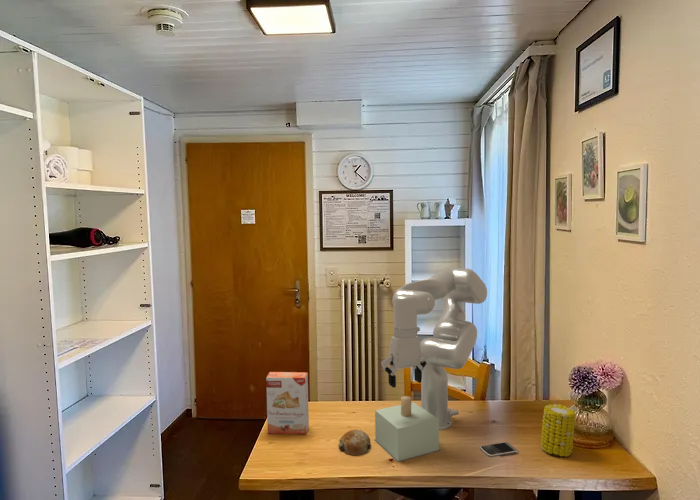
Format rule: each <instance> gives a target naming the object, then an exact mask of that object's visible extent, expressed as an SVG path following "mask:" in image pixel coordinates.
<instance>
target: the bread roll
mask: <svg viewBox="0 0 700 500" xmlns="http://www.w3.org/2000/svg"><path fill="white" fill-rule="evenodd" d="M370 448H371V439H370V435H368V433H366V432H365V431H363V430H362V429H351V430H349V431H347V432H345V433H344V434H343V435H342V437H340V438H339V443H338V449H340V450H341V452H343V453H345V454H347V455H350V456H351V455H352V456H358V455H365V454H366V453H368V452H370Z"/></svg>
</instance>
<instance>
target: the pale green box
mask: <svg viewBox="0 0 700 500" xmlns="http://www.w3.org/2000/svg"><path fill="white" fill-rule="evenodd" d="M374 416H375V417H374V424H375V425H374V427H375V429H374V431H375V432H374V433H375V437H374V438H375V439H374V441H375V440H376V441H377V442H378V443H379V444H380V445H381V446H383V447H384V448H385V449H386V450H387V451H388V452H389V453H390V454H391V455H392V456H393V457H394V458H395V459H396V460H397V461H400V460H404V459H408V458H411V459H413V458H412V457H415V456H419V455H423V454H426V455H428V454H427V453H430V452H434V451H437V452H439V451H438V450H440V430H439V419H438V418H436V417H435V416H433V415H432V414H430V413H429V412H427V411H426V410H425V409H423V408H422V407H421V405H418V403H415V402H414V401H413V402H412V397H411V396H408V395H404V396H401V397H400V404H398V405H394V406H389V407H384V408H380V409H375V410H374ZM376 441H375V442H376ZM377 442H376V443H377ZM378 443H377V444H378ZM379 444H378V445H379ZM380 445H379V446H380ZM381 446H380V447H381ZM434 453H435V452H434ZM430 454H431V453H430ZM391 455H390V456H391ZM392 456H391V457H392ZM423 456H424V455H423ZM393 457H392V458H393ZM419 457H420V456H419ZM394 458H393V459H394ZM415 458H416V457H415ZM395 459H394V460H395ZM396 460H395V461H396ZM408 460H409V459H408ZM397 461H396V462H397ZM404 461H405V460H404ZM400 462H401V461H400Z"/></svg>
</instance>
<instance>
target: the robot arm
mask: <svg viewBox="0 0 700 500" xmlns="http://www.w3.org/2000/svg"><path fill="white" fill-rule="evenodd" d="M487 296H488V289H487V286H486V284H485V283H484V281H483V280H482V279H481V277H480V276H479V275H478V274H477V273H476V272H475V271H474V270H472V269H470V268H464V267H463V268H461V267H459V268H458V267H446V268H443V269H441V270H440V271H438V272H437V273H436V274H434V275H432V276H431V277H428V278H424V279H420V280H416V281H412V282H408V283H406V284H404V285H402V286H401V287H399V288H398V289H397V290H396V291H395V292H394V294H393V295H392V299H391V300H392V301H391V302H392V306H393V336H391V338H390V342H389V348H388V357H386V358H385V359H383V360H382V361H381V366H382V368H383V370H384V371H385V372H386V373H387V374H388V377H387V379H388V385H389V386H390V387H392V388H394V389H395V388H396V387H397V379H396V378H397V376H396V375H395V373H396V372H397V371H398V370H400V369H407V368H414V367H415V368H414V381H416V382H417V383H418V384H420V388H421V389H420V390H421V394H420V395H421V398H420V399H421V403H420V404H421V405H420V407H422V408H423V409H425V410H426V411H427V412H429V413H430V414H432V415H433V416H435V417H436V418H438V419H439V431H444V430H447V429H450V427H452V424H453V421H452V417H453V416H458V415H459V414H460V413H459V412H460V411H459V410H458V409H456V408H455V409H452V408H451V407H449V406H448V405H449V404H448V403H449V401H448V400H449V399H448V398H449V394H448V393H449V391H448V390H449V389H448V387H449V385H448V384H449V383H448V382H449V380H448V379H449V377H448V373H447V371H446V369H445V368H447V369H448V368H449V369H453V370H460V369H462V368H464V366H466V363H467V361H468V360H469V358H470V356H471V353H472V351H473V349H474V347H475V344H476V342H477V340H478V339H477V338H478V330H477V327H476V325H475V324H474V322H471V321H467V320H466V313H465V311H464V309H463V307H462V306H461V305H460V303H466V304H475V305H476V304H477V305H479V304H482V303H484V302H486V299H487ZM442 299H443V305H444V306H443V307H444V308H443V309H444V310H443V312H442V314H441V316H440V317H439V319H438V321H437V323H436V324H435V326H434V328H433V331H432V335H433V336H432V337H426V338H423V339H422V340H421V341H420V337H419V335H418V332H420V331H421V328H420V327H418V316H419V315H427V314H430V313H431V312H432V311H433V310H434V308H435V305H436V304H435V303H436V301H439V300H442ZM388 365H389V366H388Z"/></svg>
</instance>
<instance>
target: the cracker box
mask: <svg viewBox="0 0 700 500" xmlns="http://www.w3.org/2000/svg"><path fill="white" fill-rule="evenodd" d="M308 377H309V374H308V372H301V371H300V372H297V371H289V372H288V371H269V372H268V374H267V376H266V380H265V381H266V383H265V384H266V417H267V418H266V419H267V421H266V422H267V423H266V424H267V434H274V435H275V434H277V435H279V434H281V435H283V434H284V435H307V433H308V430H309V427H310V426H309V425H310V424H309V422H310V421H309V417H310V416H309V384H308V383H309V381H308V380H309V379H308Z"/></svg>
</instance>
